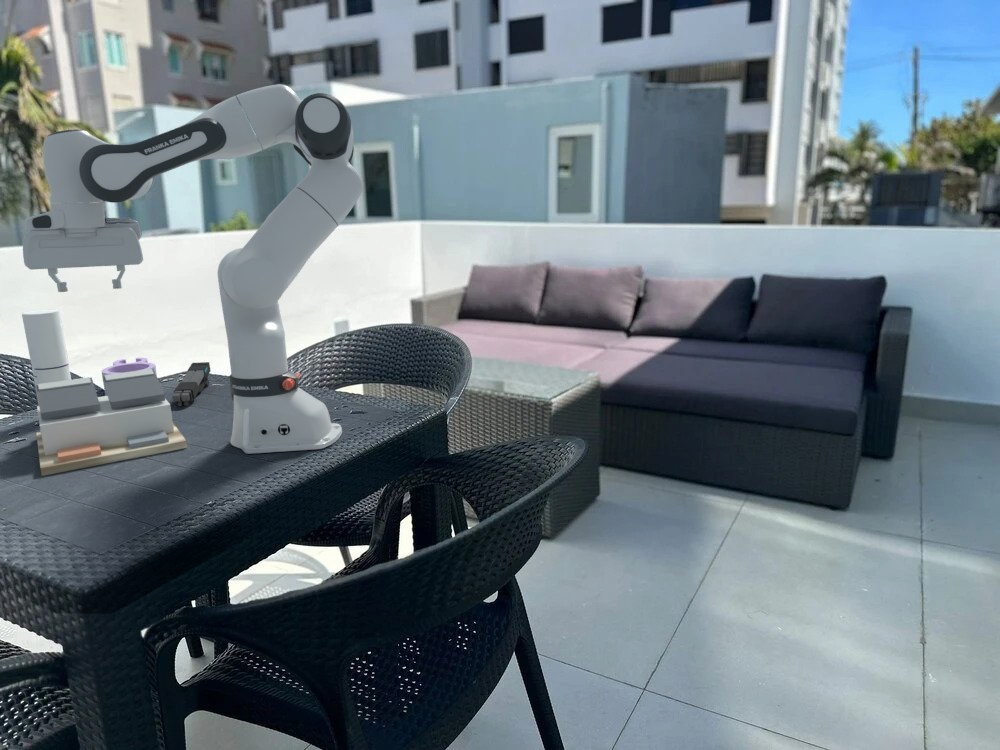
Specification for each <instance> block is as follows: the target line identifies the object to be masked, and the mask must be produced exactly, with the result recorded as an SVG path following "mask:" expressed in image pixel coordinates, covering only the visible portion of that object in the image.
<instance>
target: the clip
mask: <svg viewBox="0 0 1000 750" xmlns="http://www.w3.org/2000/svg"><path fill="white" fill-rule="evenodd" d="M156 367H157V366H156V364H155V363H154V362H149V361H148V358H146V357H136V358H135V362H127V359H126V358H122V359H118V360H115V361H113V362H112V366H111V365H110V366H107V367H104V368H103V369H102V370H101V376H105V375H109V374H116V373H124V372H131V371H139V370H146V369H154V371H155V374H156V376H157V375H158V373H157V368H156ZM157 377H158V376H157ZM102 379H103V377H102ZM102 383H103V382H102ZM103 385H104V383H103ZM103 389H104V396H107V393H106V390H105V387H104V386H103Z"/></svg>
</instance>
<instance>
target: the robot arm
mask: <svg viewBox="0 0 1000 750" xmlns="http://www.w3.org/2000/svg"><path fill="white" fill-rule="evenodd" d="M354 135H355V133H354V127H353V124H352V119H351V116H350V113H349V111H348V109H347V108H346V106H345V105H344V104H343V102H342V101H341V100H340V99H338V98H337V97H336V96H333V95H331V94H330V93H324V92H317V93H313V94H310V95H308V96H306V97H305V98H304V99H303V100H301V99H300V97H299V96H298V94H297V93H296V91H294V90H293V89H292V88H291V87H289V86H287V85H286V84H281V83H278V84H272V85H268V86H267V85H266V86H262V87H257V88H255V89H251V90H248V91H245V92H242V93H239V94H236V95H233V96H231V97H229V98H226V99H224V100H222V101H221V102H219V103H217V104H215V105H214V106H212V107H210V108H209V109H206V110H205V111H204V112H203V113H200V114H199V115H198V116H196V117H194V118H193V119H191V120H189V121H188V122H186V123H185V124H182V125H181V126H178V127H175V128H174V129H170V130H169V131H168V130H167V131H166V132H162V133H160V134H157V135H154V136H152V137H149V138H147V139H145V140H144V139H143V140H142V141H138V142H135V143H130V144H114V143H113V144H112V143H108V142H107V141H104V140H102V139H100V138H98V137H96V136H95V135H93V134H91V133H89V132H88V131H87V130H83V129H65V130H58V131H55V132H52V133H50V134H48V135H47V136H46V137H45V138H44V139H43V144H42V145H43V146H42V156H43V166H44V173H45V180H46V182H47V184H48V187H49V192H50V197H49V206H50V210H49V211H43V212H40V213H39V214H36V215H33V216H30V217H27V218H26V219H25V220H24V223H25V227H26V229H27V230H28V231H26V233H25V234H24V236H23V239H22V257H23V264H24V266H25V267H26V268H28V270H47V273H48V274H47V275H48V276H49V277H50V278H51V280H53V281H54V284H56V286H57V287H56V288H57V292H58V293H64V292H68V291H69V290H68V285H67V284H68V283H67V281H61V279H60V278H59V277H58V276H57V274H58V273H59V270H58V269H70V268H95V267H113V266H115V267H116V271H117V272H119V274H118V275H117V278H114V279H111V283H112V290H114V289H115V290H118V289H122V288H123V286H122V278H123V276H124V274H125V272H126V266H134V265H135V266H136V265H141V264H142V262H143V261H144V255H143V252H142V251H143V250H142V247H141V242H140V239H141V238H142V236H143V235H142V234H143V233H142V226H141V225H140V223H139V222H138V221H137V220H135V219H132V218H131V217H106V213H105V208H104V202H107V203H112V204H113V203H114V204H116V203H121V202H125V201H132V200H134V201H135V200H137V199H139V198H140V199H141V198H142V197H143V196H145V195H147V193H148V192H149V191H150V190H151V188H152V186H153V183H154V178H155V177H157V176H159V175H161V174H165V173H167V172H170V171H172V170H174V169H178V168H179V167H182V166H185V165H188V164H190V163H192V162H193V163H194V162H198V161H202V160H233V159H238V158H243V157H247V156H250V155H254V154H257V153H259V152H262V151H263V150H266V149H269V148H270V147H273V146H275V145H278V144H282V143H289V144H292V145H293V149H294V150H295V151H296V152H297V153H298V154H299V155H300V156H301V157H302V158H303V159H304V160H305V162H306V163H307V164H308V165H309V166H310V168H309V170H308V172H307V174H306V175H305V176H304V177H303V178H302V179H301V181H300V182H299V183H297V184H296V186H295V187H294V188H293V189H292V190H291V191H290V192H289V193H288V194H287V195H286V196H285V197H284V198H283V200H281V202H280V203H279V204H278V205H277V206H276V207H275V208H274V209H273V210H272V211H271V212H270V213H269V214H268V216H267V217H266V218H265V220H264V221H263V222H262V223H261V225H260V226H259V228H258V229H257V230H256V232H255V233H254V234H253V235H252V236H251V238H249V240H248V241H247V242H246V243H245V245H244V246H243V247H242V248H236V249H234V250H231V251H229V252H228V253H227V254H225V255H224V257H223V258H222V259H221V260H220V263H219V264H218V268H217V281H218V288H219V296H220V302H221V309H222V314H223V321H224V327H225V333H226V338H227V346H228V358H229V364H230V365H229V366H230V375H229V388H230V389H229V390H230V394H231V400H232V401H233V419H232V420H233V421H232V423H233V424H232V432H231V437H230V441H229V442H230V445H232V446H233V447H235V448H238V449H241V450H242V451H243V452H244V453H245V454H251V455H252V454H262V453H263V454H264V453H277V452H278V453H279V452H294V451H295V452H296V451H308V450H310V451H311V450H321V449H324V448H326V447H329V446H331V445H333V444H334V443H336V442H337V441H338V440H339V439H340V437H341V436H342V434H343V428H342V426H341V424H339V423H336V422H332V421H331V417H330V413H329V409H328V407H327V405H326V404H325V403H324V402H323V401H321V400H319V399H317V398H315V397H314V396H313V395H311V394H309V393H308V392H307V391H304V389H302V388H300V387H299V379H300V378H301V377H300V374H301V373H300V372H297V373H294V372H292V371H291V370H290V369H289V366H288V356H287V355H288V354H287V346H286V334H285V329H284V325H283V321H282V316H281V310H280V306H279V305H280V304H279V300H280V299H281V297H282V295H283V294H284V293H285V292H286V290H287V289H288V288H289V286H290V285H291V284H292V282H293V281H294V280H295V279H296V278H297V276H298V275H299V273H300V272H301V270H302V269H303V268H304V266H305V265H306V263H307V262H308V261H309V259H310V258H311V256H312V255H313V254H314V253H315V252H316V251H317V250H318V249H319V247H321V245H322V244H323V243H324V242H325V241H326V240H327V239H328V238H329V237H330V235H332V233H333V232H334V231H335V230H336V229H337V228H338V227H339V226H340V224H341V223H342V222H343V221H344V220H345V218H346V217H347V216H348V215H349V213H350V212H351V211H352V209H353V208H354V206H355V205H356V203H357V202H358V200H359V198H360V197H361V195H362V193H363V190H364V182H363V180H362V177H361V175H360V173H359V172H358V171H357V169H356V168H355V167H354V166H353V165H352V164H351V161H352V158H353V156H354V153H355V152H354V150H355V148H354ZM132 222H133V223H132Z"/></svg>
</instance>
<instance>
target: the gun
mask: <svg viewBox="0 0 1000 750" xmlns="http://www.w3.org/2000/svg"><path fill="white" fill-rule="evenodd" d="M210 372H211V364H210V362H209V361H208V362H207V361H206V362H205V361H203V362H192V363H191V364H190V366H189V368H188V369H187V372H186V373H185V375H184V376H183V378H182V380H181V381H180V382H179V383H178V384H177V386H176V388H175V389H174V390H173V393H172V394H171V395H172V396H171V398H172V401H173V403H175V404H176V405H177V406H178V407H186V406H187V407H189V406H190V404H191V403H193V402H194V400H195V399H196V398H197V397H196V396H197V395H198V394H201V393H202V392H203V389H204V388H205V387H209V386H210V381H209V375H210ZM183 405H184V406H183Z"/></svg>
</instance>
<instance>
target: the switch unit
mask: <svg viewBox="0 0 1000 750" xmlns="http://www.w3.org/2000/svg"><path fill="white" fill-rule="evenodd" d="M97 397H98V400H99V404H100V410H101V411H97V412H91V413H85V414H78V415H72V416H65V417H59V418H53V419H46V420H42V418H41V413H40V407H39V405H37V406H36V408H37V415H38V422H39V430H40V431H37V432H36V440H37V449H38V459H39V468H40V472H41V476H42V477H44V476H49V475H55V474H59V473H65V472H69V471H75V470H79V469H85V468H90V467H95V466H100V465H104V464H105V465H106V464H111V463H114V462H115V463H116V462H120V461H127V460H130V459H131V460H132V459H137V458H141V457H147V456H151V455H158V454H162V453H167V452H172V451H177V450H182V449H183V450H184V449H188V443H187V440H186V438H185V437H184V436H183V434H182V432H181V431H180V430H179V429H178V427H177V426H176V425H175V423H174V421H173V413H172V407H171V403H170V402H169V401H168V400H167V399H166V398H165V401H160V402H154V403H147V404H141V405H135V406H128V407H122V408H116V409H112V408H111V405H110V402H109V399H108V396H105V395H104V396H97Z"/></svg>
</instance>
